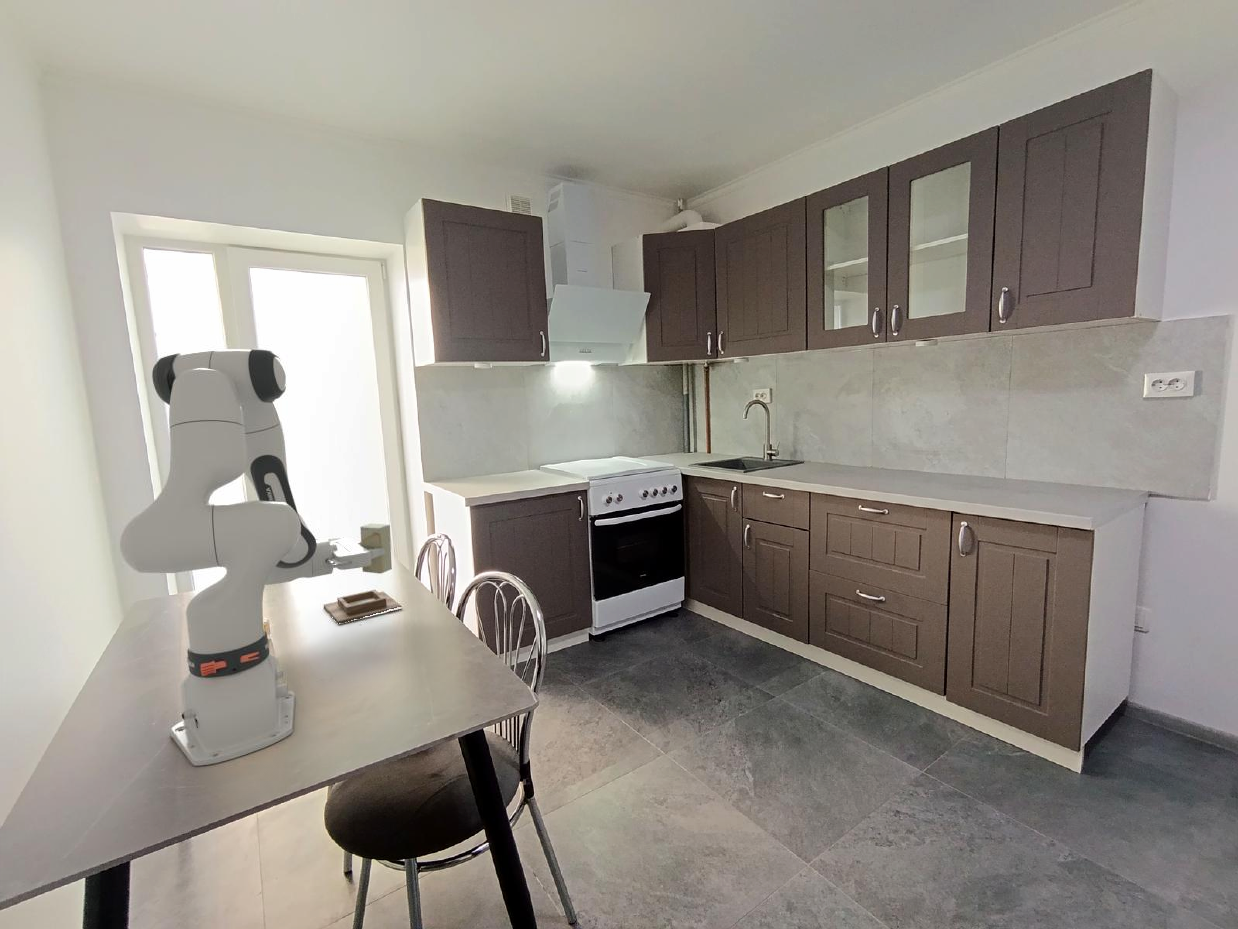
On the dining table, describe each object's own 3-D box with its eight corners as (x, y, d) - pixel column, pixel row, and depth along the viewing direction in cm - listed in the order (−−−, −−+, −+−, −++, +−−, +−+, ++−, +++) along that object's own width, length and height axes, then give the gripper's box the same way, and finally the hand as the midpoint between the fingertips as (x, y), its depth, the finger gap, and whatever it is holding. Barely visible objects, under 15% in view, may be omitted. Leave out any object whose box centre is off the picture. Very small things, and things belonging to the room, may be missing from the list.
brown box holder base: (401, 609, 156) (400, 598, 156) (338, 625, 146) (337, 613, 146) (383, 594, 169) (382, 584, 168) (323, 608, 159) (322, 597, 158)
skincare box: (362, 572, 150) (358, 526, 149) (374, 567, 154) (370, 523, 153) (382, 574, 148) (378, 527, 147) (393, 569, 152) (390, 524, 151)
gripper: (330, 553, 134) (391, 543, 142) (312, 537, 150) (367, 529, 158) (332, 579, 135) (392, 567, 143) (314, 561, 151) (369, 551, 159)
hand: (379, 547), depth 151 cm, fingers closed on skincare box, 7 cm apart
